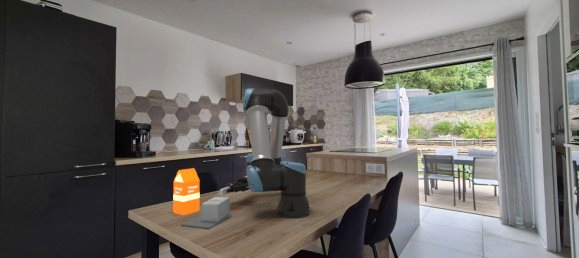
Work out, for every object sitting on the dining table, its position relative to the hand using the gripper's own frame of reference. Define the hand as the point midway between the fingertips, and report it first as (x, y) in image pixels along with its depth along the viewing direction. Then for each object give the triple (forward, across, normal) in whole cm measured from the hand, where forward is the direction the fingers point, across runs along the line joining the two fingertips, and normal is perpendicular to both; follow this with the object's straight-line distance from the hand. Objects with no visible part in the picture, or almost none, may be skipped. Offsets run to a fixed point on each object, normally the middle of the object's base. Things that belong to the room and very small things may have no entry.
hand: (221, 192), depth 114 cm
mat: (+10, 0, -10) cm, 14 cm away
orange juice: (+2, +18, -10) cm, 20 cm away
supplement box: (+1, -1, -5) cm, 5 cm away
